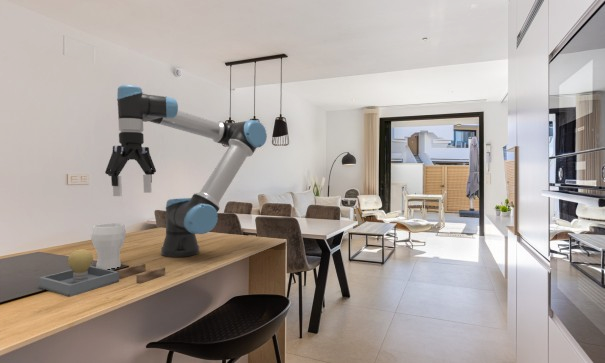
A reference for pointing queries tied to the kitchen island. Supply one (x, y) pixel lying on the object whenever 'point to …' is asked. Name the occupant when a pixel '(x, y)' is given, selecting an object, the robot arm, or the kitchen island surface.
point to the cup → (108, 244)
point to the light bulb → (80, 264)
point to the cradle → (142, 276)
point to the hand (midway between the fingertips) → (133, 194)
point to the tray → (67, 287)
